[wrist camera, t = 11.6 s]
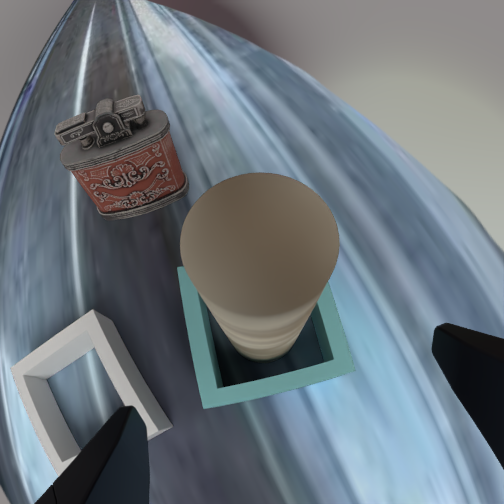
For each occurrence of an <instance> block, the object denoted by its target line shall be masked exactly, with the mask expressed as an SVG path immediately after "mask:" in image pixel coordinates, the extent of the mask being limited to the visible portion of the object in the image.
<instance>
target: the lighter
mask: <svg viewBox="0 0 504 504" xmlns="http://www.w3.org/2000/svg"><path fill="white" fill-rule="evenodd" d="M169 130H170V124H169V121H168V117H167V115H166V113H165V112H163V111H161V110H150V111H145V107H144V105H143V102H142V99H141V96H140V95H135V96H132V97H129V98H126V99H123V100H120V101H114V100H113V99H104V100H101V101H100V102H98V104H97V106H96V109H95V110H93V111H91V112H88V113H85V112H84V113H82V114H79V115H77V116H75V117H72V118H70V119H68V120H65V121H63V122H61V123H59V124H58V125H57V126H56V130H55V136H56V137H57V139H58V141H59V142H60V144H61V145H65V146H64V148H63V149H62V151H61V154H60V161H61V162H62V164H63V165H64V167H65V168H66V169H67V170H69V171H71V172H72V173H73V175H74V176H75V177H76V179H77V180H78V182H79V183H80V184H81V186H82V187H83V188H84V190H85V191H86V192H87V194H88V195H89V196H90V198H91V199H92V200H93V202H94V203H95V204H96V206H97V210H98V212H99V213H100V214H101V216H102V217H103V218H104V219H106V220H117V219H124V218H129V217H133V216H137V215H142V214H145V213H148V212H151V211H154V210H156V209H159V208H162V207H164V206H166V205H169V204H171V203H173V202H175V201H177V200H179V199H181V198H183V197H184V196H185V195H186V194H187V192H188V190H189V183H188V180H187V177H186V174H185V173H184V172H183V171H182V168H181V165H180V162H179V160H178V157H177V153H176V150H175V147H174V144H173V141H172V138H171V135H170V132H169Z"/></svg>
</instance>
